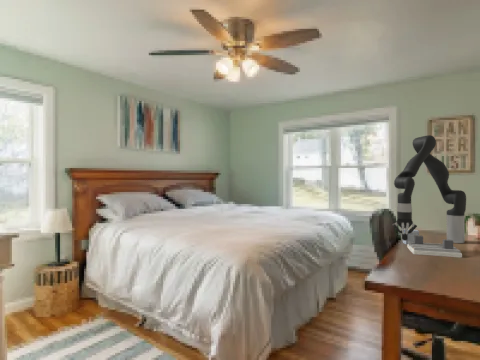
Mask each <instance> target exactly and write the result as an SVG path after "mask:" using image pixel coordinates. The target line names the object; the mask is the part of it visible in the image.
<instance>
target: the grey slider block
mask: <svg viewBox="0 0 480 360" xmlns="http://www.w3.org/2000/svg"><path fill="white" fill-rule="evenodd" d="M442 244H443V249H453V246H454V243H453V240H447V238H446V239H445V238H444V239H443V238H442Z"/></svg>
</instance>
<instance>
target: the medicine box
mask: <svg viewBox="0 0 480 360" xmlns="http://www.w3.org/2000/svg"><path fill="white" fill-rule="evenodd" d="M409 230H410V229H408V231H409ZM404 234H405V229H404ZM414 235H420V231H419V230H418V229H414V230H413V231H412V233H409V234H408V239H407V240H406V241H404V240H403V239H402V243H403V244H404V245H407V244H409V242H414Z"/></svg>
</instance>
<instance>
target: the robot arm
mask: <svg viewBox="0 0 480 360" xmlns="http://www.w3.org/2000/svg"><path fill="white" fill-rule="evenodd" d="M436 144H437V140H436V138H435V137H434V136H433V135H431V134H430V135H424V136H422V135H421V136H420V137H415V138H413V140H412V147H413V149H414V151H415V153H416V154H415V155H414V156H413V157H411V159H409V161H407V163H406V165H405V167H404V169H403V170H402V171H401V172H400V173H399V174H398V175H397V176H396V177H395V178H394V182H393V185H394V188H396V189H399V190H404V191H403V192H400V193H398V194H397V203H396V204H397V206H396V220H395V221H396V222H394V223H392V226H393V228H394V229H395V230H396V231H397V232H398V233H399V234H401V239H402V241H403V240H404V241H406V240H407V239H408V234H409V233H412V231H413V230H416V229H417V227H418V225H416V224H415V223H414V221H413V207H412V195H413V192H414V189H415V180H414V178H415V177H416V175H417V174H418V172H419V170H420V169H421V166H422V165H423V163H424V165H425V166H426V169H427V170H428V172H429V174H430V176H431V178H432V179H433V180H434V182H435V184H436V186H437V188H438V190H439V192H440V195H441V197H442V200H443V201H444V202H445V203H446V204H448V205H453V208H450V209H447V210H446V239H447V240H453V244H454V243H455V244H465V241H466V240H465V238H466V237H465V229H466V228H465V213H466V211H467V210H466V208H467V194H466V191H463V190H458V189H452V188H451V187H450V185H449V179H450V171H449V169H448V168H447V165H445V163H444V162H443V161H442V160H440V159H438V158H437V157H435V156H434V155H432V154H431V152H433V150H434V149H435V147H436V146H437V145H436ZM398 226H399V227H398ZM404 230H405V234H404ZM408 230H409V231H408Z"/></svg>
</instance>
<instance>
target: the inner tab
mask: <svg viewBox="0 0 480 360" xmlns="http://www.w3.org/2000/svg"><path fill="white" fill-rule="evenodd" d="M423 243H424V236H423V235H420V234H419V235H414V244H423Z"/></svg>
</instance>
